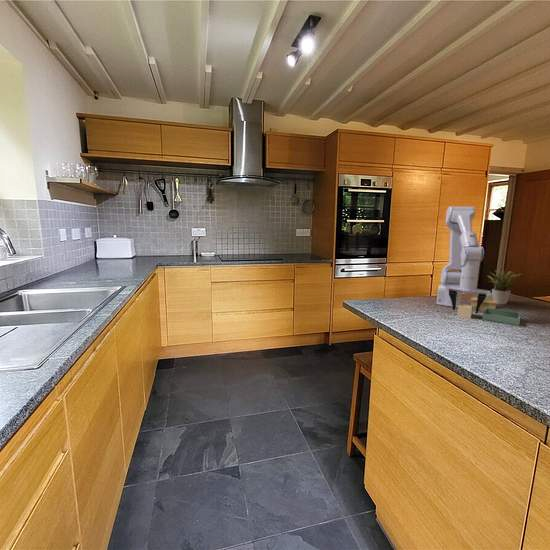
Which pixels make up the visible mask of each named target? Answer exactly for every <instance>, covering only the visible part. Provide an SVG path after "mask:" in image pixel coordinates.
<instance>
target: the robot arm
mask: <svg viewBox="0 0 550 550" xmlns="http://www.w3.org/2000/svg"><path fill="white" fill-rule="evenodd" d="M475 215H476V208H475V207H474V206H472V205H471V206H450V205H449V206H448V208H447V209H446V213H445V226H446V227H448V228H449V256H448V257H449V258H448V260H449V261H448V264H447V265H445V266H443V267H442V269H441V274H440V282H441V283H440V284H438V289H437V296H436V305H439V306H446V307H452V310H453V311H454V310H456V308H458V305H459V304H460V303H462V296H463V294H471V295H477V298H478V299H477V307H476V312H475V311H474V312H475V314H479V312H478V310H479V308H480V306H481V304H482V302H483V301H484V299H487V297H490V296H491V290H487V289H483V288H482V289H481V288H477V287H478V281H479V273H480V272H479V271H480V263H481V262H482V261H483V259H484V257H485V256H484V255H485V250H484V247H483V246H481V244H479V240H478V236H477V233H476V232H473V227H472V222H473V220H474V218H475Z"/></svg>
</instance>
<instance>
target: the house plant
mask: <svg viewBox="0 0 550 550" xmlns="http://www.w3.org/2000/svg"><path fill="white" fill-rule="evenodd" d="M494 272H495V273H497V275H496V274H495V273H492V272H491V271H489V273H490V274H491V275H492V276H493V277H494V278H493V277H492V276H491V275H487V277H488V278H489V280H488V281H487V282H488V283H489V282H490V283H493V284H492V285H491V286H495V288H492V289H491V294H492V295H491V297H492V300H498V301H497V304H496V305H506V304H507V303H508V301H509V297H510V295H511V291H512V290H510V289H508V288H510V287H514V285H518V286H519V284H518V283H514V282H513V283H510V282H511V281H512V280H513V279H515V278H516V277H518V276H520V275H521V273H519V274H515V275H514V274H513V272H512V271H511V270H510V271H508V272H507V273H506V274H505V270H504V269H502V274H501V272H499V271H497V270H494Z"/></svg>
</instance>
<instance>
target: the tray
mask: <svg viewBox="0 0 550 550" xmlns="http://www.w3.org/2000/svg"><path fill="white" fill-rule="evenodd" d="M481 320H482V321H486V320H487V321H488V322H493V323H498V324H504V325H511V326H515V325H516V327H520V322H521V312H516V311H510V310H504V309H491V308H485V310H484V313H482V319H481Z"/></svg>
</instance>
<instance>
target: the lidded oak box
mask: <svg viewBox="0 0 550 550" xmlns="http://www.w3.org/2000/svg"><path fill="white" fill-rule="evenodd" d="M477 299H478V296H477V297H474V296H472V297H470V305H473V310H472V312H475V311H476V307H477ZM497 301H498V300H493V298H492V299H491V298H485V299H484V301H483V302H482V304H481V306H480V308H479V310H478V313H481V312H482V314H483V313H484V310H485V308H491V309H496V308H497V305H498V304H497Z"/></svg>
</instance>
